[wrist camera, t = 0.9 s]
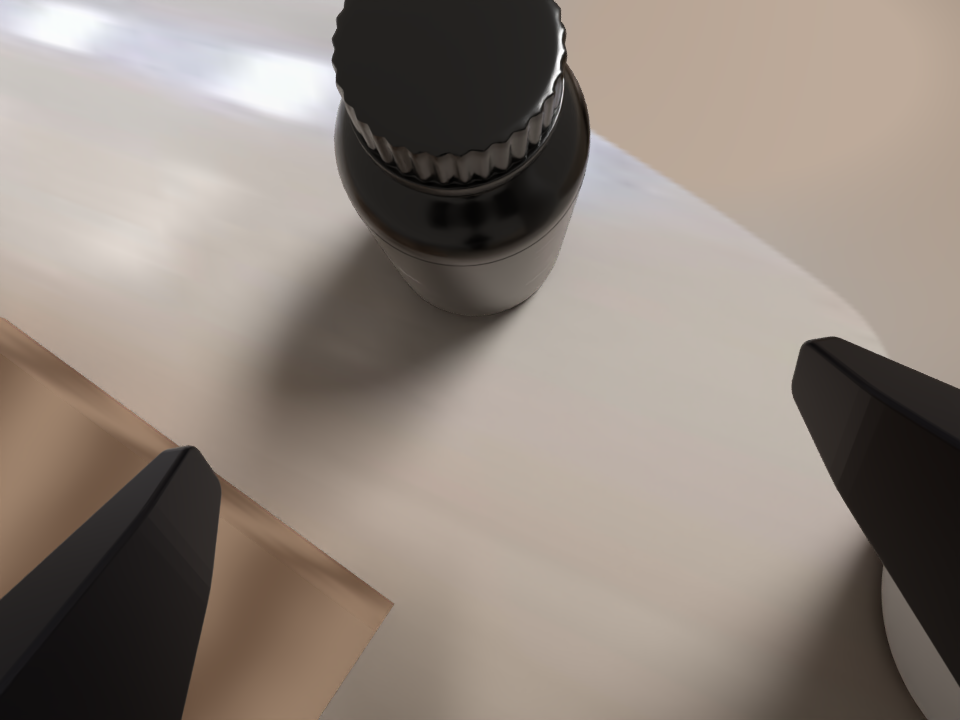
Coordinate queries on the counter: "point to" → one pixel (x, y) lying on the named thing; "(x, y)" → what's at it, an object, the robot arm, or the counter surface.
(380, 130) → the supplement bottle
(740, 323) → the counter surface
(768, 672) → the counter surface
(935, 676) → the cylinder vase
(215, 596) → the walnut ledge
